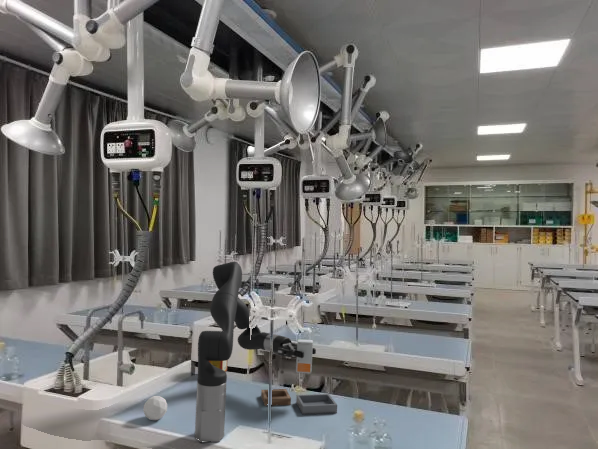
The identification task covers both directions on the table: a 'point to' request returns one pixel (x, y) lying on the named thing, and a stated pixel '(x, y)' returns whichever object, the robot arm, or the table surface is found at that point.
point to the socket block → (277, 397)
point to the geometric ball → (155, 408)
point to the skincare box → (304, 363)
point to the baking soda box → (220, 364)
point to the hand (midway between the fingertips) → (309, 353)
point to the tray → (316, 404)
